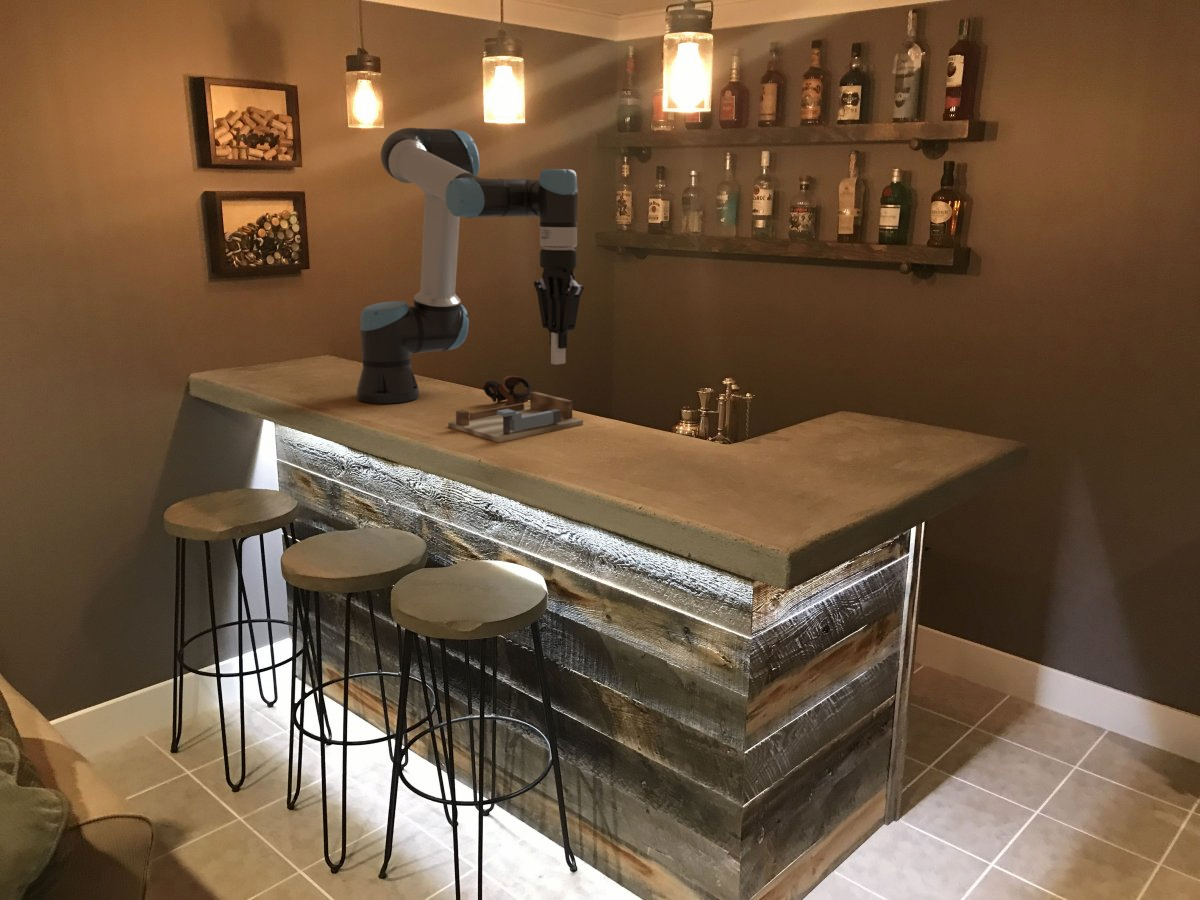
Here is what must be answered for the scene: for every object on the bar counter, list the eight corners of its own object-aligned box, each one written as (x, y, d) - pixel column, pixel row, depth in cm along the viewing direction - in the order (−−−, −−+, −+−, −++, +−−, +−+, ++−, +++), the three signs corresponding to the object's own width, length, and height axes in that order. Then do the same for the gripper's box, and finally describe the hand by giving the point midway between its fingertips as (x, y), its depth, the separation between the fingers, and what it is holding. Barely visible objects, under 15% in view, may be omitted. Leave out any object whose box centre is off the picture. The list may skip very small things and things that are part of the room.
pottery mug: (530, 402, 242) (537, 377, 236) (524, 426, 235) (531, 401, 229) (483, 389, 241) (489, 364, 235) (476, 414, 234) (482, 388, 228)
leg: (505, 434, 203) (505, 413, 202) (497, 431, 205) (496, 410, 204) (562, 422, 214) (562, 402, 213) (553, 420, 216) (553, 400, 215)
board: (448, 426, 215) (447, 404, 213) (531, 410, 231) (531, 389, 229) (498, 442, 202) (498, 419, 201) (582, 424, 218) (583, 402, 217)
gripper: (523, 247, 198) (524, 361, 204) (566, 250, 189) (565, 369, 195) (551, 246, 203) (551, 357, 209) (594, 249, 194) (592, 365, 200)
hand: (558, 363), depth 202 cm, fingers closed
